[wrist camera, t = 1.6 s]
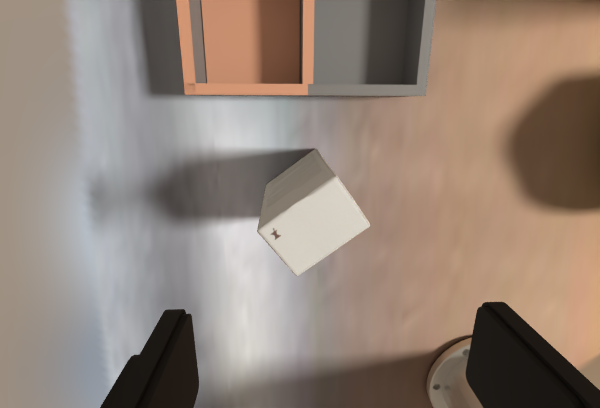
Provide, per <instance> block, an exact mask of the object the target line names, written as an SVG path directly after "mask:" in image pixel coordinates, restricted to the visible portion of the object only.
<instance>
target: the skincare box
mask: <svg viewBox="0 0 600 408" xmlns="http://www.w3.org/2000/svg"><path fill="white" fill-rule="evenodd" d="M368 227H370V223H369V221H368V220H367V218H366V217H365V216H364V214H363V213H362V211H361V210H360V208H359V207H358V205H357V204H356V202H355V201H354V199H353V198H352V196H351V195H350V193H349V192H348V191H347V189H346V188H345V186H344V185H343V184H342V182H341V181H340V179H339V178H338V177H337V175H336V174H335V173H334V172H333V170H332V169H331V168H330V166H329V165H328V164H327V162H326V161H325V159H324V158H323V157H322V155H321V154H320V153H319V151H318V150H317V149H314V150H313V151H311V152H310V153H309V154H307V155H306V156H304V157H303V158H302V159H300V160H299V161H298V162H296V163H295V164H293V165H292V166H291V167H289V168H288V169H287V170H285V171H284V172H283V173H281V174H280V175H279V176H277V177H276V178H274V179H273V180H272V181H270V182H269V183H268V184H266V188H265V193H264V199H263V204H262V209H261V214H260V219H259V224H258V230H257V232H258V233H259V234H260V235H261V236H262V238H263V239H264V240H265V241H266V242H267V243H268V244H269V245H270V247H271V248H272V249H273V250H274V251H275V252H276V253H277V255H278V256H279V257H280V258H281V259H282V260H283V261H284V263H285V264H286V265H287V266H288V267H289V268H290V269H291V271H292V272H293V273H294V274H295V275H296V276H298V275H300V274H301V273H303V272H304V271H306V270H307V269H309V268H310V267H312V266H313V265H315V264H316V263H317V262H319V261H320V260H322V259H323V258H325V257H326V256H328V255H329V254H330V253H332V252H333V251H335V250H336V249H338V248H339V247H340V246H342V245H343V244H345V243H346V242H348V241H349V240H350V239H352V238H353V237H355V236H356V235H358V234H359V233H361V232H362V231H364V230H365V229H367V228H368Z"/></svg>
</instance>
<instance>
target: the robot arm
mask: <svg viewBox="0 0 600 408" xmlns="http://www.w3.org/2000/svg"><path fill="white" fill-rule="evenodd" d="M198 388H199V377H198V368H197V359H196V350H195V342H194V333H193V324H192V316H191V314H186V312H185V310H184V309H176V310H165V311H164V313H163V314H162V316H161V318H160V320H159V322H158V323H157V325H156V327H155V329H154V330H153V332H152V334H151V336H150V337H149V339H148V341H147V343H146V344H145V346H144V348H143V350H142V352H141V353H140V355H133V356H132V357H131V358H130V359H129V360H128V362H127V364H126V365H125V367H124V369H123V370H122V372H121V374H120V375H119V377H118V379H117V380H116V382H115V384H114V385H113V387H112V389H111V390H110V392H109V394H108V395H107V397H106V399H105V400H104V402H103V404H102V405H101V407H100V408H193V407H194V404H195V400H196V397H197V393H198ZM427 393H428V397H429V399H430V401H431V403H432V405H433V407H434V408H600V390H599V389H598V388H596V387H595V386H594V385H593V384H592V383H591V382H590V381H589V380H588V379H587V378H586V377H584V375H582V374H581V373H580V372H579V371H578V370H577V369H576V368H575V367H574V366H573V365H572V364H571V363H570V362H568V361H567V360H566V359H565V358H564V357H563V356H562V355H561V354H560V353H559V352H558V351H557V350H556V349H554V348H553V347H552V346H551V345H550V344H549V343H548V342H547V341H546V340H545V339H544V338H543V337H541V336H540V335H539V334H538V333H537V332H536V331H535V330H534V329H533V328H532V327H531V326H530V325H529V324H527V323H526V322H525V321H524V320H523V319H522V318H521V317H520V316H519V315H518V314H517V313H516V312H515V311H513V310H512V309H511V308H510V307H509V306H508V305H507V304H506V303H504V302H485V303H483V305H482V307H479V308H478V310H477V314H476V319H475V324H474V330H473V335H472V337H471V338H468V339H466V340H463V341H461V342H459V343H457V344H455V345H453V346H451V347H450V348H449V349H447V350H446V351H445V352H444V353H443V354H442V355H441V356H440V357H439V358H438V359H437V360H436V361H435V363H434V364H433V366H432V367H431V370H430V372H429V374H428V378H427Z"/></svg>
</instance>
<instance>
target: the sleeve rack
mask: <svg viewBox="0 0 600 408" xmlns="http://www.w3.org/2000/svg"><path fill="white" fill-rule="evenodd" d="M176 4H177V14H178V25H179V36H180V47H181V57H182V68H183V79H184V89H185V95H218V96H426V88H427V79H428V70H429V61H430V52H431V43H432V34H433V25H434V16H435V7H436V0H176Z"/></svg>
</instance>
